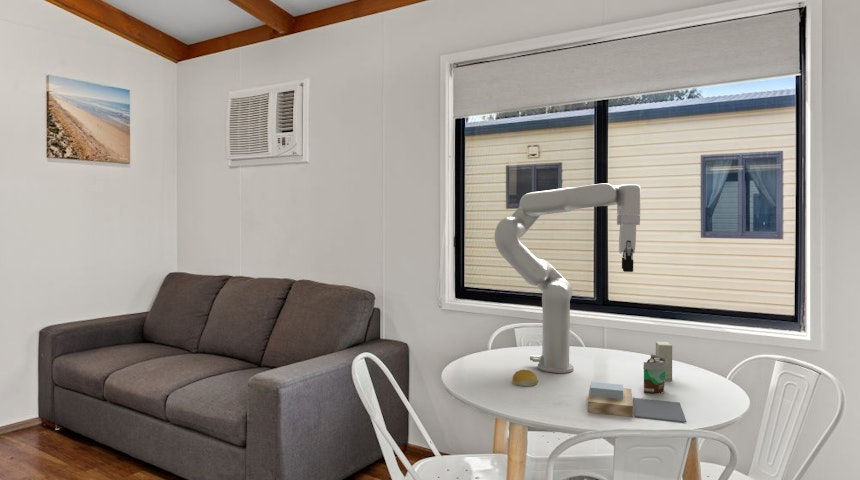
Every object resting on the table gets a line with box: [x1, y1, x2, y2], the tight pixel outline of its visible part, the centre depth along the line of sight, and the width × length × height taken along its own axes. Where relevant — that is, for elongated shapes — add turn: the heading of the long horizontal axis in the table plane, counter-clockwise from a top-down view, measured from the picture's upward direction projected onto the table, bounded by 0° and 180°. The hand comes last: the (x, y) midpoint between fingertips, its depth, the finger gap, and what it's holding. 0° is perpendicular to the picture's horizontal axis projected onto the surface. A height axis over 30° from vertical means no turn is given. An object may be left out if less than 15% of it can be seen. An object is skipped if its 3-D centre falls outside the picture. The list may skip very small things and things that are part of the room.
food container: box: [643, 354, 668, 395], centre depth 176 cm, size 12×6×10 cm, turn 148°
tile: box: [589, 381, 624, 399], centre depth 162 cm, size 9×6×2 cm, turn 72°
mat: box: [632, 397, 687, 423], centre depth 158 cm, size 13×16×1 cm
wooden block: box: [586, 384, 634, 418], centre depth 162 cm, size 12×16×3 cm
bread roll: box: [512, 369, 539, 387], centre depth 184 cm, size 8×9×4 cm
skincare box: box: [655, 340, 673, 382], centre depth 189 cm, size 6×4×12 cm
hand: (627, 270), depth 191 cm, fingers open, 9 cm apart
